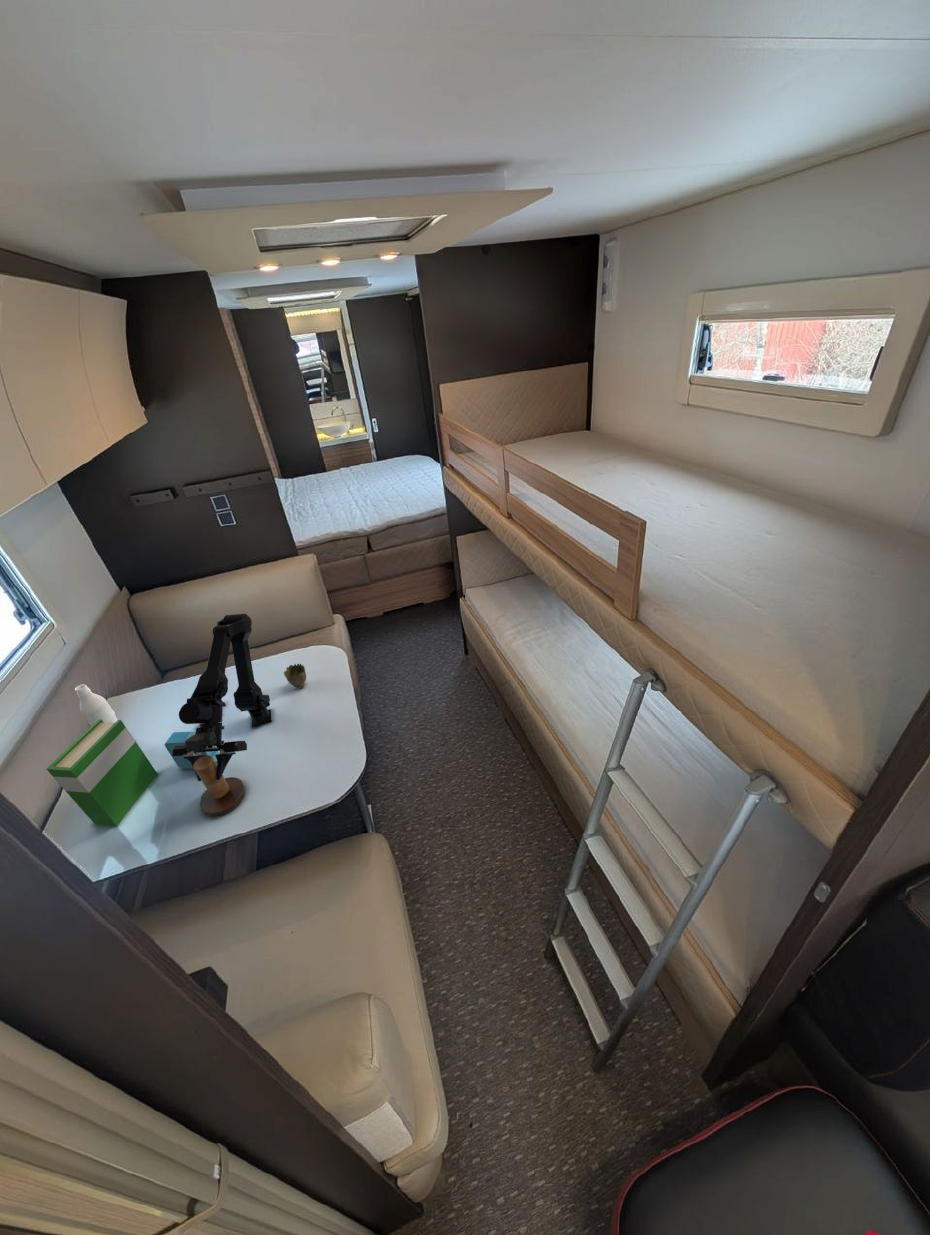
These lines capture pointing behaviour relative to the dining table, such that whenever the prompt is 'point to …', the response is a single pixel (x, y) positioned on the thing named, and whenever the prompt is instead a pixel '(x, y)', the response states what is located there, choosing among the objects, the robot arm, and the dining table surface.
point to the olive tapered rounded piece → (296, 675)
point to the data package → (179, 739)
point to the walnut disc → (223, 799)
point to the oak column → (210, 776)
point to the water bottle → (94, 706)
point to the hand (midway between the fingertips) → (209, 780)
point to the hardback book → (104, 772)
